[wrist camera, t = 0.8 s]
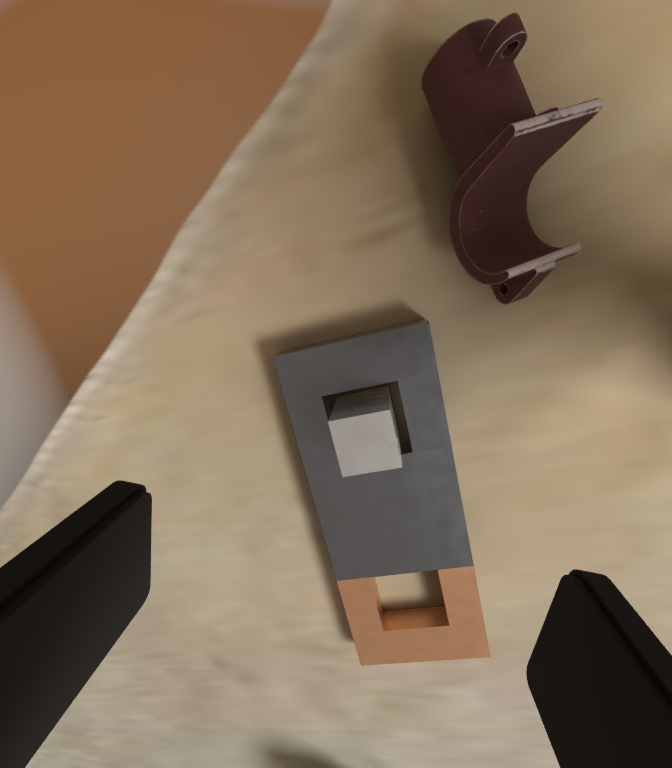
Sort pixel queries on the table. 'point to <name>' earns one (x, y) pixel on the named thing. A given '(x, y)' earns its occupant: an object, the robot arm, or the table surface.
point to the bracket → (496, 153)
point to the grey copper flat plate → (388, 496)
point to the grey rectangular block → (365, 432)
